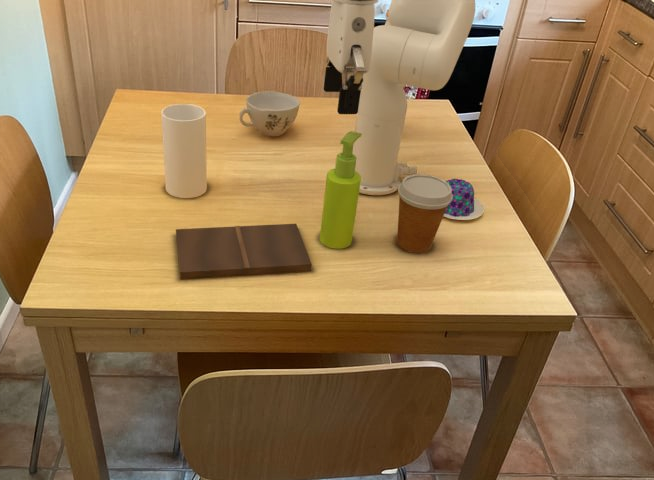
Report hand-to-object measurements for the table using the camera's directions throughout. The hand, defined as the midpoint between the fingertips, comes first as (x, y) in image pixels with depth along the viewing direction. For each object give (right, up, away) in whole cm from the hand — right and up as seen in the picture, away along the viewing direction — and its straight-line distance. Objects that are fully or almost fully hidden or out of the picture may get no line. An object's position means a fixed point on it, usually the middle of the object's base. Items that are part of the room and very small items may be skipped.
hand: (339, 102), depth 102 cm
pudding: (+25, -14, +26) cm, 39 cm away
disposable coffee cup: (+15, -22, +14) cm, 30 cm away
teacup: (-13, +7, +49) cm, 51 cm away
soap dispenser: (+1, -21, +14) cm, 25 cm away
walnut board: (-16, -24, +8) cm, 30 cm away
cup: (-29, -10, +25) cm, 39 cm away
